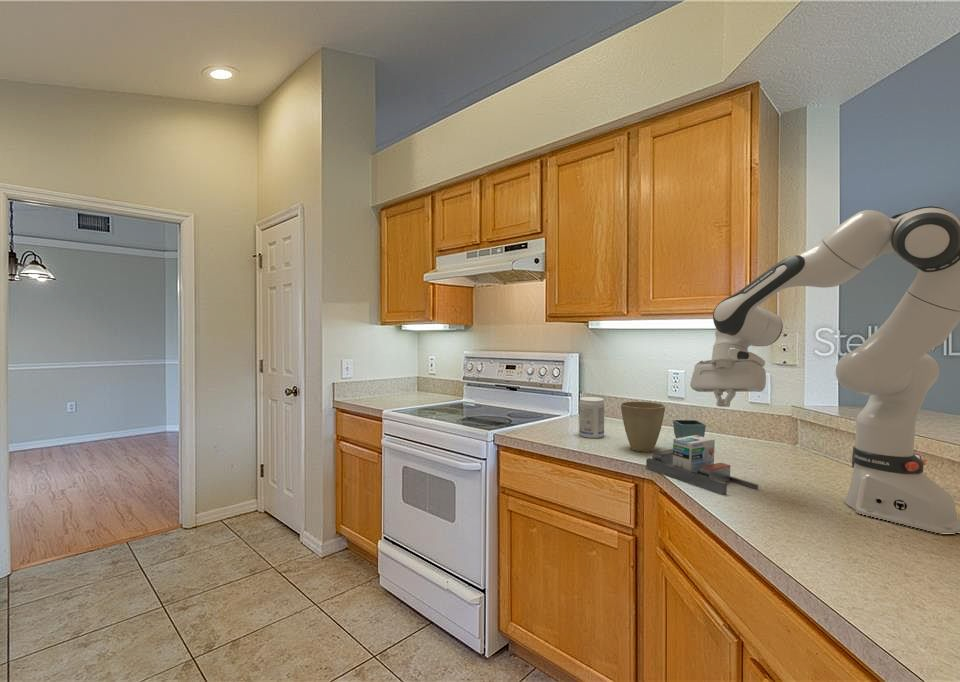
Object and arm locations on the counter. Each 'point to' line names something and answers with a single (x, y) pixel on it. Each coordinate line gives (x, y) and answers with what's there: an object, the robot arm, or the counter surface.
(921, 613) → the counter surface
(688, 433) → the flower pot
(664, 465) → the vise base
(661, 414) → the plant pot
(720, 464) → the block
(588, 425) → the supplement tub
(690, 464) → the light bulb box
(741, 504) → the counter surface
